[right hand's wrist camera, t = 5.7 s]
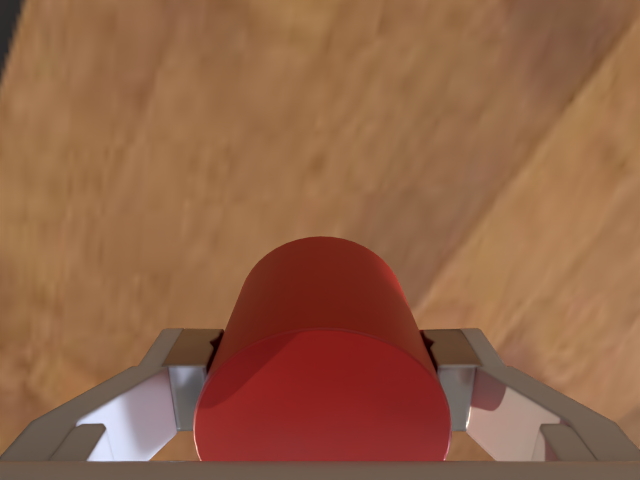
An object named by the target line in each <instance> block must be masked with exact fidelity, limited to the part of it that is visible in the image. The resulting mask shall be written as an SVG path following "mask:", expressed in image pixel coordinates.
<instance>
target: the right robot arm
mask: <svg viewBox="0 0 640 480" xmlns="http://www.w3.org/2000/svg"><path fill="white" fill-rule="evenodd" d="M419 332H420V334H421V337H422V339H423V342H424V344H425V347H426V349H427V351H428V354H429V356H430V359H431V361H432V363H433V366H434V368H435V371H436V373H437V375H438V378H439V380H440V383H441V385H442V388H443V390H444V392H445V395H446V398H447V401H448V404H449V407H450V412H451V420H452V431H467V434H468V435H469V436H470V437H471V438H472V439H474V440H475V441H476V442H477V443H478V444H479V445H480V446H481V447H482V448H483V449H484V450H485V451H486V452H487V453H488V454H489V455H490V456H492V457H493V458H494V459H495V460H496V461H149V460H150V459H151V458H152V457H153V456H154V455H155V454H156V453H157V452H158V451H159V450H160V449H161V448H162V447H163V446H164V445H165V444H166V443H168V442H169V441H170V440H171V439H172V438H173V437H174V436H175V435H176V434H177V431H193V419H194V411H195V407H196V404H197V400H198V397H199V395H200V392H201V390H202V387H203V385H204V382H205V380H206V377H207V375H208V372H209V370H210V367H211V365H212V362H213V360H214V357H215V355H216V352H217V350H218V347H219V345H220V342H221V340H222V337H223V335H224V330H223V329H184V328H167V329H164V330H162V331H161V333H160V334H159V336H158V337H157V339H156V340H155V342H154V343H153V345H152V346H151V348H150V349H149V351H148V352H147V354H146V355H145V357H144V358H143V360H142V361H141V363H140V364H139V366H138V367H130V368H128V369H126V370H125V371H123V372H121V373H119V374H117V375H116V376H114V377H112V378H110V379H108V380H106V381H105V382H103V383H101V384H99V385H97V386H95V387H94V388H92V389H90V390H88V391H86V392H85V393H83V394H81V395H79V396H77V397H75V398H74V399H72V400H70V401H68V402H66V403H64V404H63V405H61V406H59V407H57V408H55V409H54V410H52V411H50V412H48V413H46V414H44V415H43V416H41V417H39V418H37V419H35V420H33V421H32V422H30V424H29V425H28V426H27V427H26V428H25V429H24V430H23V432H22V433H21V434H20V435H19V436H18V437H17V438H16V439H15V441H14V442H13V443H12V444H11V445H10V446H9V447H8V449H7V450H6V451H5V452H4V453H3V454H2V455H1V456H0V480H640V450H639V449H638V448H637V447H636V446H635V444H634V443H633V442H632V441H631V440H630V439H629V438H628V437H627V435H626V434H625V433H624V432H623V431H622V430H621V429H620V428H619V426H618V425H617V424H616V423H615V422H613V421H611V420H610V419H608V418H606V417H604V416H602V415H600V414H599V413H597V412H595V411H593V410H591V409H589V408H588V407H586V406H584V405H582V404H580V403H578V402H577V401H575V400H573V399H571V398H569V397H567V396H565V395H564V394H562V393H560V392H558V391H556V390H554V389H553V388H551V387H549V386H547V385H545V384H543V383H542V382H540V381H538V380H536V379H534V378H532V377H531V376H529V375H527V374H525V373H523V372H521V371H520V370H518V369H516V368H514V367H506V365H505V364H504V362H503V361H502V360H501V358H500V357H499V355H498V354H497V352H496V351H495V350H494V348H493V347H492V345H491V344H490V342H489V341H488V339H487V338H486V337H485V335H484V334H483V332H482V331H481V330H480V329H478V328H467V329H436V330H419Z"/></svg>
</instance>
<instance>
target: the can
mask: <svg viewBox="0 0 640 480" xmlns="http://www.w3.org/2000/svg"><path fill="white" fill-rule="evenodd" d="M451 433H452V420H451V412H450V407H449V404H448V401H447V398H446V395H445V392H444V390H443V388H442V385H441V383H440V380H439V378H438V375H437V373H436V371H435V368H434V366H433V363H432V361H431V359H430V356H429V354H428V351H427V349H426V347H425V344H424V342H423V339H422V337H421V334H420V332H419V330H418V327H417V325H416V322H415V320H414V318H413V315H412V313H411V310H410V308H409V306H408V303H407V301H406V298H405V296H404V293H403V291H402V289H401V286H400V284H399V282H398V280H397V278H396V276H395V274H394V273H393V272H392V270H391V269H390V267H389V266H388V265H387V264H386V263H385V262H384V261H383V260H382V259H381V258H380V257H379V256H377V255H376V254H375V253H374V252H372V251H370V250H369V249H367V248H366V247H364V246H361V245H359V244H357V243H355V242H352V241H348V240H345V239H341V238H335V237H321V236H320V237H308V238H303V239H298V240H295V241H292V242H289V243H286V244H284V245H282V246H280V247H278V248H276V249H274V250H273V251H271V252H270V253H268V254H267V255H266V256H265V257H263V258H262V259H261V260H260V261H259V262H258V263H257V264H256V265H255V267H254V268H253V269H252V270H251V272H250V273H249V275H248V277H247V278H246V280H245V283H244V285H243V287H242V289H241V292H240V294H239V297H238V299H237V302H236V304H235V307H234V309H233V312H232V314H231V317H230V320H229V322H228V325H227V327H226V330H225V332H224V335H223V337H222V340H221V342H220V345H219V347H218V350H217V352H216V355H215V357H214V360H213V362H212V365H211V367H210V370H209V372H208V375H207V377H206V380H205V382H204V385H203V387H202V390H201V392H200V395H199V397H198V400H197V404H196V407H195V411H194V419H193V434H194V442H195V446H196V450H197V454H198V456H199V459H200V461H445V458H446V455H447V453H448V450H449V445H450V441H451Z"/></svg>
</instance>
